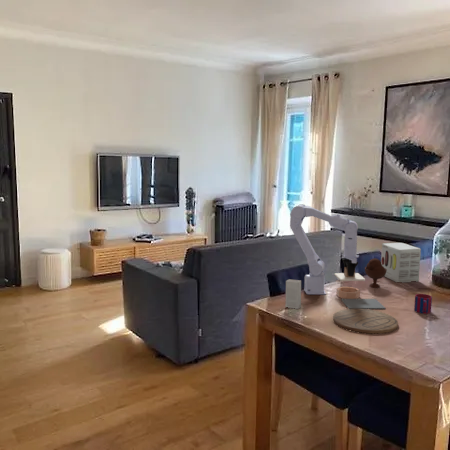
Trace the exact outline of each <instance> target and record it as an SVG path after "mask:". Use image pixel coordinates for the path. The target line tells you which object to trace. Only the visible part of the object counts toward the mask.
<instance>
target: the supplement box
mask: <svg viewBox="0 0 450 450" xmlns="http://www.w3.org/2000/svg"><path fill="white" fill-rule="evenodd" d="M421 251H422V249H421V248H420V247H417V246H413V245H411V244H407V243H404V242H391V243H390V242H388V243H387V242H386V243H385V242H384V243H382V244H381V255H380V256H381V257H380V261H381V264H382V266H383V267H384V268H386V269H387V271H386V274H385V276H384V277H385V278H386V279H390V280H391V281H393V282H395V283H397V282H402V283H412V282H411V281H416V282H419V281H420V269H421V268H420V267H421V254H422V253H421Z"/></svg>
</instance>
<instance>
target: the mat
mask: <svg viewBox="0 0 450 450" xmlns="http://www.w3.org/2000/svg"><path fill="white" fill-rule="evenodd" d="M340 300H341V302H342V304H344V305H345V307H346V308H347V307H348V308H347V309H369V310H386V307H385V306H384V305H383V304H382V303H381V302H380V301H378V299H377V298H357V299H345V298H341V299H340Z"/></svg>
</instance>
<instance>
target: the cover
mask: <svg viewBox="0 0 450 450" xmlns="http://www.w3.org/2000/svg"><path fill="white" fill-rule="evenodd" d="M343 270H344V271H343V272H338V273H337V272H335V273H334V274H333V275H334V276H335V277H336V278H337V279H338V280H339V282H366V278H365V277H364V276H363V275H361V274H360V273H359V272H356V270H355V271H354V275H353V276H348V269H347V267H344V269H343Z"/></svg>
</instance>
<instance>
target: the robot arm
mask: <svg viewBox="0 0 450 450" xmlns="http://www.w3.org/2000/svg"><path fill="white" fill-rule="evenodd" d="M289 215H290V216H289V217H290V222H289V226H290V229H291V232H292V233H293V235H294V237H295V239H296V241H297V243H298V245H299V246H300V248H301V250H302V251H303V252H302V253H303V254H304V256H305V258H306V261H307V265H308V267H309V268H308V269H309V270H308V271H309V274H305V275H304V284H303V285H304V287H303V291H304V292H305V294H306V295H327V292H326V291H325V278H326V277H325V272H324V271H325V269H326V263H325V262H324V260H322V259H321V257H320V256H319V255H318V254H317V253H316V250H315V249H314V247H313V246H312V243H311V241H310V239H309V238H308V235H307V234H306V232H305V230H304V228H303V226H302V224H303V221H304V219H305V218H309V217H313V218H316V219H319V220H322V221H325V222H327V223H328V224H329V226H331V227H333V228H334V229H335V228H336V229H338V230H339V231H344V239H343V241H344V242H343V244H344V246H343V256H342V257H343V258H341V260H342V262H343V266H344V267H347V269H348V276H353V275H354V271H355V272H356V268H357V266H358V264H359V261H357V260H358V259H357V258H359V257H360V255H359V254H358V255H357V250H358V249H357V248H358V229H359V225H358V223H357V222H356V221H355V220H353V219H352V220H351V219H350V218H345V217H342V216H341V214H339V213H338V214H332V215H331V214H328V213H326V212H323V211H321V210H320V209H317V208H314V207H312V206H310V205H305V204H304V203H303V204H297V205H295V206H294V207H293V208H292V210H291V211H290V213H289Z"/></svg>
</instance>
